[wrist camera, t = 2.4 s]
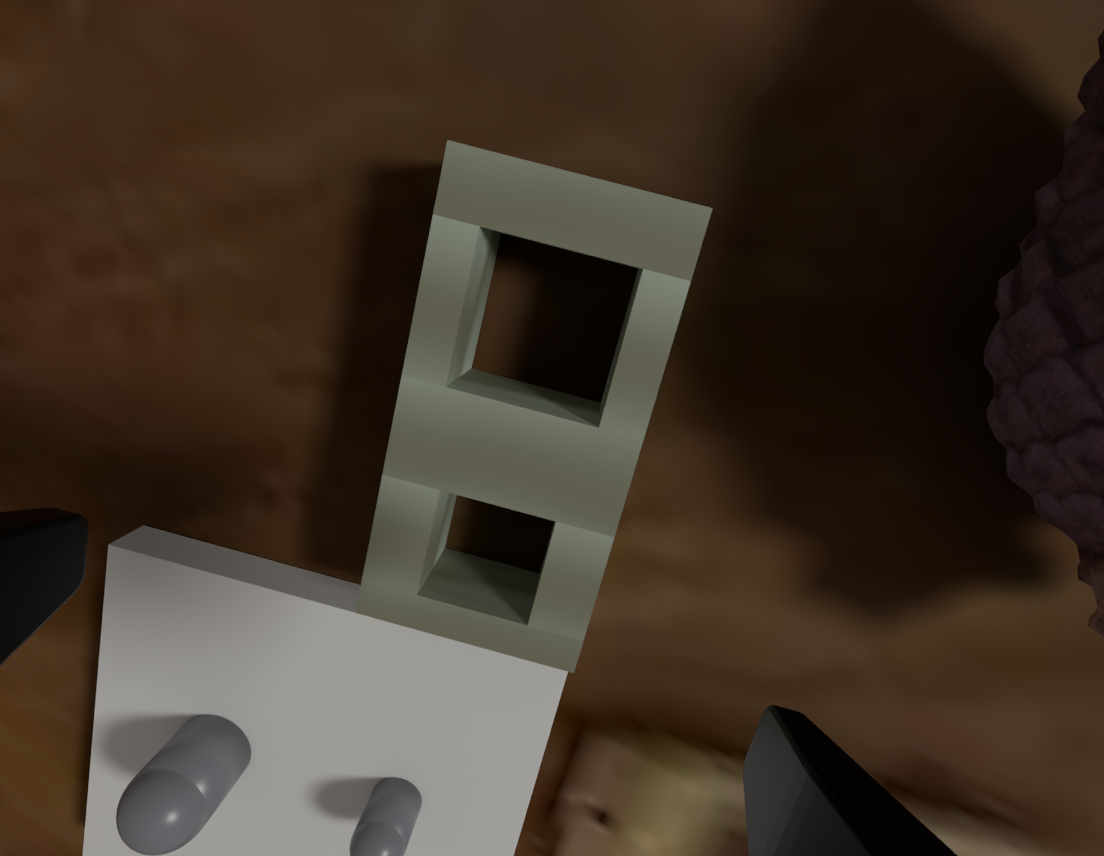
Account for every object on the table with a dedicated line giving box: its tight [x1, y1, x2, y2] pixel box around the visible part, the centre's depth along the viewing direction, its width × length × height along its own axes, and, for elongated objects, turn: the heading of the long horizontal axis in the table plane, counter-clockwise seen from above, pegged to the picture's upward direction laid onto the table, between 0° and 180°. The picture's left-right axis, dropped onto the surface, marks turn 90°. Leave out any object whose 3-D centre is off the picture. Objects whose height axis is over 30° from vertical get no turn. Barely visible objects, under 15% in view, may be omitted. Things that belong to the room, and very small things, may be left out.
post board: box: [83, 525, 568, 856], centre depth 20 cm, size 14×12×5 cm
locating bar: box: [356, 140, 713, 673], centre depth 17 cm, size 12×6×3 cm, turn 166°
